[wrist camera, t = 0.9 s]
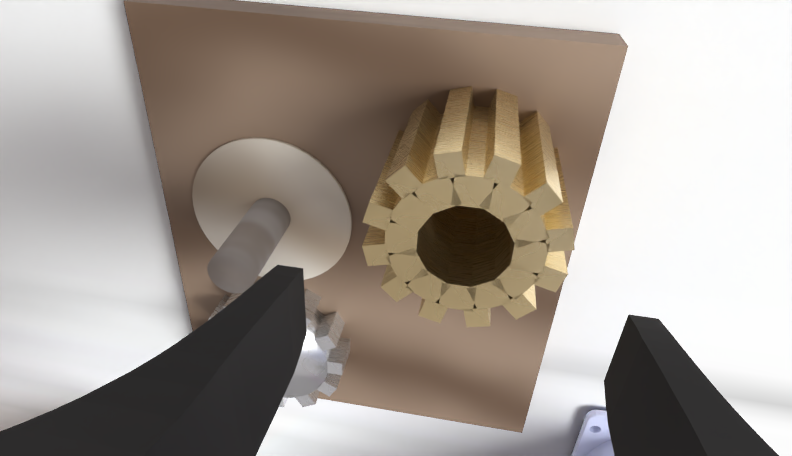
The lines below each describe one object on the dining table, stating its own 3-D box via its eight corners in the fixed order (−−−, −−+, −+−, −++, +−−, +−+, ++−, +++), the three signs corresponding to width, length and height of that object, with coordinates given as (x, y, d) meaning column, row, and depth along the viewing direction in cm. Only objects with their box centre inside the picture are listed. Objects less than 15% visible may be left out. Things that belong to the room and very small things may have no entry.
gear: (349, 391, 26) (327, 465, 23) (225, 371, 27) (187, 440, 24) (350, 290, 23) (324, 360, 20) (208, 270, 24) (160, 334, 20)
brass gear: (540, 245, 20) (549, 339, 16) (389, 225, 21) (360, 311, 17) (575, 96, 17) (597, 166, 13) (396, 78, 18) (363, 139, 14)
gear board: (521, 407, 27) (524, 514, 23) (215, 357, 29) (161, 446, 24) (619, 34, 17) (659, 90, 13) (148, -7, 19) (37, 29, 15)
